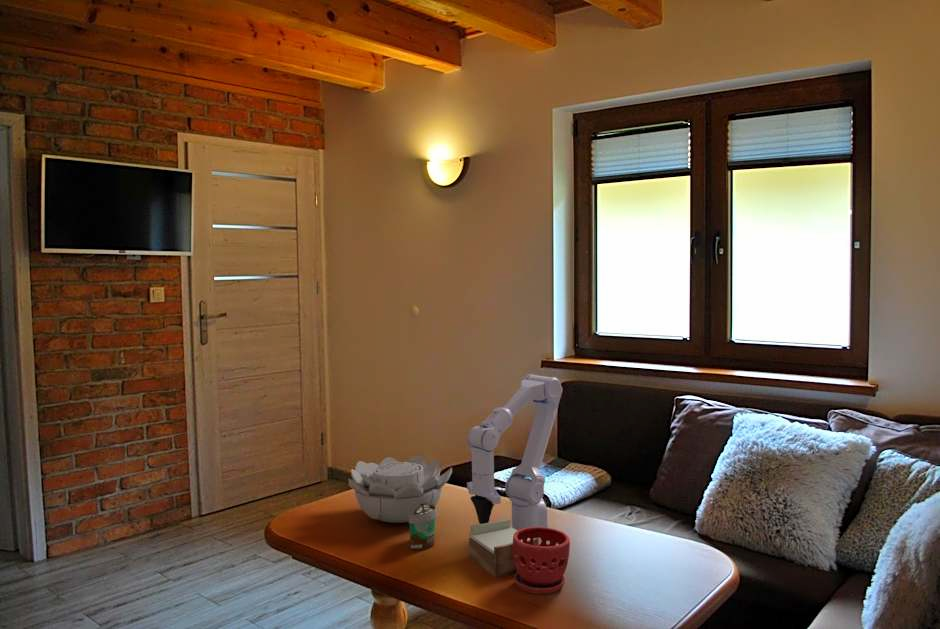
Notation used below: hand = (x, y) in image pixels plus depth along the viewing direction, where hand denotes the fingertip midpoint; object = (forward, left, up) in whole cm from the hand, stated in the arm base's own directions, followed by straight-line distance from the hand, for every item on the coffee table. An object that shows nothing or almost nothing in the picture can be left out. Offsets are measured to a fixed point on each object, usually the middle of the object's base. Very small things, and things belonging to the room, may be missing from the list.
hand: (483, 523), depth 194 cm
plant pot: (-1, +26, -7) cm, 27 cm away
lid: (0, +10, -2) cm, 10 cm away
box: (0, +10, -7) cm, 12 cm away
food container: (+12, -10, -7) cm, 17 cm away
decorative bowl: (+11, -34, -7) cm, 36 cm away
